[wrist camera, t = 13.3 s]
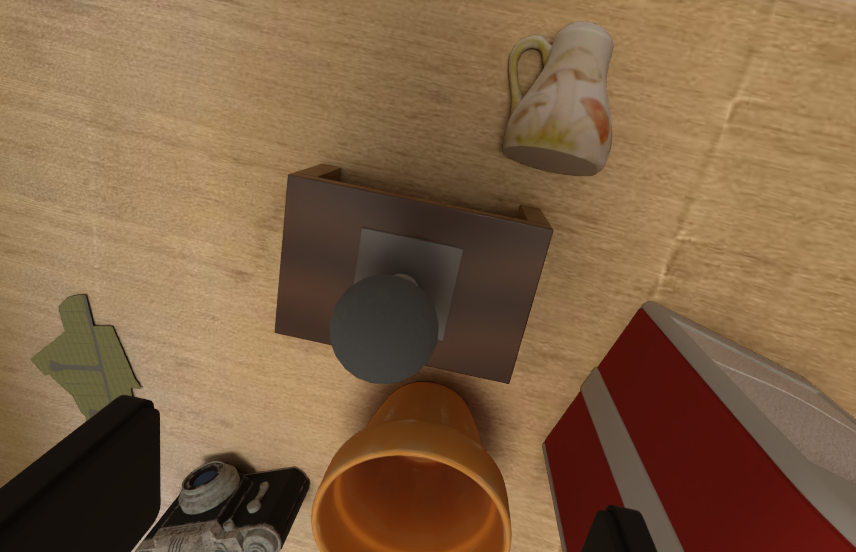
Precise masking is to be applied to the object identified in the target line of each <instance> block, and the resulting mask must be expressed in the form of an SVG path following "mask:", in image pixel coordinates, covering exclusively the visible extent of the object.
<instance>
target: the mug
mask: <svg viewBox="0 0 856 552" xmlns="http://www.w3.org/2000/svg"><path fill="white" fill-rule="evenodd" d="M530 48H536V49H539V50H540V51H541V53H542V61H543V65H544V69H543V71H542V72H541V74H540V75H539V77H538V78H537V80H536V81H535V82H534V84H533V85H532V87H531V88H530V89H529V91H528V92H527V93H526V95H525V96H524V97H523V98H522V94H521V90H520V86H519V80H518V72H517V65H518V60H519V58H520V55H521V54H522V52H524V51H525V50H527V49H530ZM613 48H614V44H613V40H612V38H611V37H610V35H609V33H608V32H607V31H606V30H605V29H604V28H603V27H601V26H599V25H597V24H595V23H591V22H586V21H579V22H574V23H571V24H569V25H567V26H566V27H564V28H563V29H562V30H561V31H559V32H558V33H557V34H556V36H555V38H554V42H553V44H552V45H551V44H550V43H549V42H548V41H547V40H546V38H544V37H543V36H541V35H535V34H533V35H531V36H528V37H526V38H523V39H522V40H520V41H519V42H518V43H517V44H516V45H515V46H514V48H513V50H512V52H511V54H510V57H509V63H508V76H509V83H510V91H511V100H512V105H511V111H510V119H509V121H508V124H507V127H506V130H505V135H504V140H503V152H504V154H505V155H506V156H508V157H509V158H511V159H513V160H515V161H517V162H519V163H521V164H524V165H528V166H531V167H534V168H537V169H541V170H544V171H548V172H553V173H558V174H563V175H564V174H565V175H575V176H592V175H595V174H597V173H598V172H600V171H601V170H602V169H603V168H604V166H605V164H606V161H607V158H608V155H609V152H610V148H611V143H612V126H611V116H610V110H609V102H608V95H607V86H606V79H607V72H608V66H609V62H610V59H611V55H612V52H613Z"/></svg>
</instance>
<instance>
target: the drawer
mask: <svg viewBox="0 0 856 552" xmlns="http://www.w3.org/2000/svg"><path fill="white" fill-rule="evenodd" d="M339 175H340V168H339V167H334V166H330V165H325V164H320V165H317V166H314V167H310V168H307V169H304V170H301V171H298V172H295V173H292V174H289V175H288V182H287V194H286V205H285V217H284V229H283V240H282V252H281V264H280V275H279V287H278V299H277V310H276V322H275V333H278V334H283V335H287V336H292V337H297V338H301V339H306V340H310V341H315V342H319V343H324V344H329V345H332V344H331V341H330V319H331V316H332V313H333V310H334V307H335V305H336V303H337V301H338V300H339V299H340V297H341V296H342V295H343V294H344V292H345V291H346V290H347V289H348V288H349V287H350V286H352V285H354V284H355V283H357V282H359V281H360V280H362V279H364V278H367V277H372V276H376V275H381V274H382V275H396V274H405V275H408V276H410V277H412V278H413V279H414V280H415V281H416V283H417V284H418V287H419V288H421V289H422V290H423V291H424V292H425V293H426V294H427V296H428V297H429V299H430V300H431V302H432V303H433V305H434V307H435V311H436V314H437V318H438V321H439V329H438V342H437V345H436V347H435V349H434V352H433V354H432V356H431V358H430V360H429V361H428V362H427V363H426V364H425V365H424V366H429V367H433V368H438V369H443V370H447V371H452V372H456V373H461V374H465V375H470V376H475V377H479V378H484V379H488V380H493V381H497V382H502V383H506V384H509V383H510V380H511V376H512V373H513V369H514V366H515V362H516V359H517V355H518V352H519V348H520V345H521V341H522V338H523V334H524V331H525V327H526V324H527V321H528V317H529V314H530V310H531V307H532V303H533V300H534V296H535V293H536V289H537V286H538V282H539V279H540V275H541V272H542V268H543V265H544V261H545V258H546V255H547V251H548V248H549V244H550V241H551V237H552V234H553V228H552V227H551V225H550V224H549V222H548V221H547V219H546V218H545V216H544V215H543V213H542V212H541V210H540V209H538V208H533V207H528V206H523V205H521V206H520V209H519V213H518V217H517V218H512V217H507V216H502V215H497V214H493V213H488V212H483V211H478V210H473V209H468V208H464V207H459V206H454V205H449V204H444V203H440V202H435V201H430V200H425V199H420V198H415V197H411V196H406V195H401V194H396V193H391V192H387V191H382V190H377V189H372V188H367V187H362V186H358V185H353V184H348V183H343V182H339Z"/></svg>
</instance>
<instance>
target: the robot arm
mask: <svg viewBox="0 0 856 552" xmlns="http://www.w3.org/2000/svg"><path fill="white" fill-rule="evenodd" d="M160 504H161V498H160V413H159V411H158V410H157V409H154V404H153V402H152V401H150V400H146V399H142V398H138V397H133V396H129V395H120V396H119V397H117V398H115V399H114V400H113V401H112V402H110V403H109V404H108V405H106V406H105V407H104V408H103V409H101V410H100V411H99V412H98V413H96V414H95V415H94V416H92V417H91V418H90V419H89V420H87V421H86V422H85V423H83V424H82V425H81V426H80V427H78V428H77V429H76V430H74V431H73V432H72V433H71V434H69V435H68V436H67V437H66V438H64V439H63V440H62V441H60V442H59V443H58V444H57V445H55V446H54V447H53V448H51V449H50V450H49V451H48V452H46V453H45V454H44V455H42V456H41V457H40V458H39V459H37V460H36V461H35V462H34V463H32V464H31V465H30V466H28V467H27V468H26V469H25V470H23V471H22V472H21V473H19V474H18V475H17V476H16V477H14V478H13V479H12V480H10V481H9V482H8V483H7V484H5V485H4V486H3V487H2V488H0V552H131V551H132V550H133V549H134V547H135V546H136V545H137V543H138V542H139V541H140V540H141V538H142V537H143V536H144V535H145V533H146V532H147V531H148V530H149V528H150V527H151V526H152V524H153V523H154V522H155V520H156V518H157V516H158V513H159V510H160ZM581 552H657V549H656V547H655V544H654V542H653V540H652V537H651V535H650V532H649V530H648V527H647V525H646V523H645V520H644V518H643V516H642V514H641V513H640V512H639V511H638V510H633V509H629V508H625V507H620V506H616V505H608V506H607V507H606V509H605V511H603V510H599V511H597V513H596V515H595V518H594V520H593V523H592V525H591V527H590V530H589V532H588V535H587V537H586V540H585V542H584V545H583V547H582V550H581Z"/></svg>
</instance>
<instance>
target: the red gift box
mask: <svg viewBox="0 0 856 552" xmlns="http://www.w3.org/2000/svg"><path fill="white" fill-rule="evenodd" d="M580 389H581V391H580V393H579V394H578V395H577V397H576V398H575V400H574V401H573V402H572V404H571V405H570V406H569V408H568V409H567V411H566V412H565V413H564V415H563V416H562V418H561V419H560V420H559V422H558V423H557V425H556V426H555V427H554V429H553V430H552V432H551V433H550V434H549V436H548V437H547V439H546V440H545V443H543V445H542V448H543V453H544V458H545V463H546V469H547V474H548V479H549V484H550V489H551V494H552V500H553V505H554V510H555V515H556V520H557V525H558V530H559V536H560V541H561V546H562V551H563V552H581V550H582V547H583V545H584V542H585V540H586V537H587V535H588V532H589V530H590V527H591V525H592V523H593V520H594V518H595V515H596V513H597V511H599V510H603V511H605V509H606V507H607V506H608V505H616V506H620V507H625V508H629V509H633V510H638V511H639V512H640V513H641V514H642V516H643V518H644V520H645V523H646V525H647V527H648V530H649V532H650V535H651V537H652V540H653V542H654V544H655V547H656V549H657V552H856V419H855V418H854V417H853V416H851V415H850V414H849V413H848V412H846V411H845V410H844V409H843V408H841V407H840V406H839V405H838V404H836V403H835V402H834V401H833V400H831V399H830V398H829V397H828V396H826V395H825V394H824V393H823V392H821V391H820V390H819V389H818V388H816V387H815V386H814V385H813V384H811V383H810V382H809V381H808V380H806V379H805V378H804V377H802V376H800V375H798V374H796V373H794V372H792V371H790V370H788V369H786V368H784V367H782V366H780V365H778V364H776V363H774V362H772V361H770V360H768V359H766V358H764V357H762V356H760V355H758V354H756V353H754V352H752V351H750V350H748V349H746V348H744V347H742V346H740V345H738V344H736V343H734V342H732V341H730V340H728V339H727V338H725V337H723V336H721V335H719V334H717V333H715V332H713V331H711V330H709V329H707V328H705V327H703V326H701V325H699V324H697V323H695V322H693V321H691V320H689V319H687V318H685V317H683V316H681V315H679V314H677V313H675V312H673V311H671V310H669V309H667V308H665V307H663V306H661V305H659V304H657V303H655V302H647V303H645V304H643V305H642V309H639V310H638V312H637V313H636V315H635V316H634V317H633V319H632V320H631V322H630V323H629V324H628V326H627V327H626V329H625V330H624V331H623V333H622V334H621V335H620V337H619V338H618V340H617V341H616V342H615V344H614V345H613V347H612V348H611V349H610V351H609V352H608V354H607V355H606V356H605V358H604V359H603V361H602V362H601V363H600V365H599V366H598V367H597V368H594V369H593V371H592V372H591V374H590V375H589V376H588V378H587V379H586V381H585V382H584V383H583V385H582V386H581V388H580Z"/></svg>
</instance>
